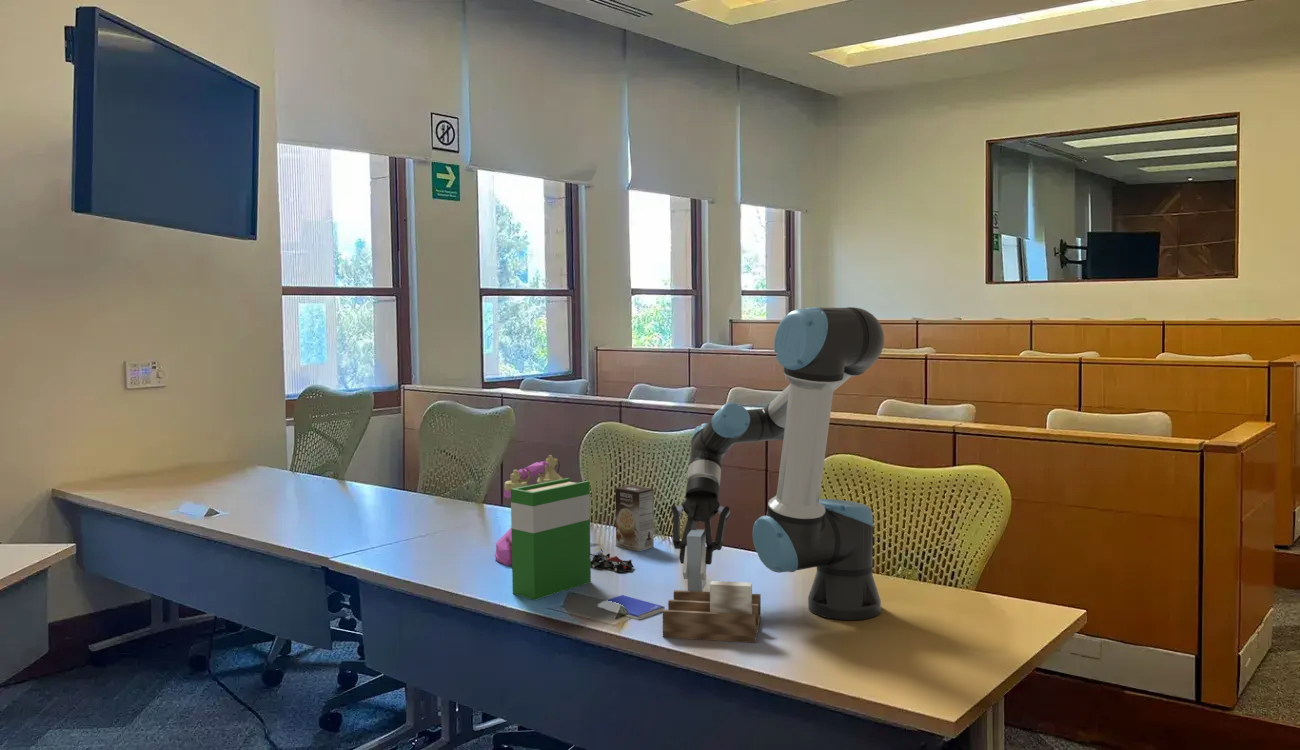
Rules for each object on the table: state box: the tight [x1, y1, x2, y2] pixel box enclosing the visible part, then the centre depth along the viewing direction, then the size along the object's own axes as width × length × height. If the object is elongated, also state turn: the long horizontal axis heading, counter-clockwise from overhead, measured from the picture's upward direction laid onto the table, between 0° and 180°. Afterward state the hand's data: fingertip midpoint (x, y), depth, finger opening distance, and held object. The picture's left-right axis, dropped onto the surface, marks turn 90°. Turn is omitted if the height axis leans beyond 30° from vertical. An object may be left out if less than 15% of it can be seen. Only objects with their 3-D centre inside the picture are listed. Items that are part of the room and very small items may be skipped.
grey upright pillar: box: [687, 528, 707, 592], centre depth 204 cm, size 3×7×12 cm, turn 169°
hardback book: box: [510, 477, 592, 601], centre depth 218 cm, size 18×7×24 cm, turn 139°
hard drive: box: [607, 594, 666, 621], centre depth 203 cm, size 2×8×12 cm
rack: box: [662, 580, 762, 643], centre depth 190 cm, size 18×14×10 cm
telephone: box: [494, 454, 564, 566], centre depth 250 cm, size 36×22×25 cm, turn 161°
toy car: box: [590, 548, 635, 573], centre depth 234 cm, size 6×12×4 cm, turn 57°
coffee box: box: [614, 484, 655, 552], centre depth 255 cm, size 9×6×16 cm
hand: (693, 576), depth 199 cm, fingers closed on grey upright pillar, 3 cm apart
